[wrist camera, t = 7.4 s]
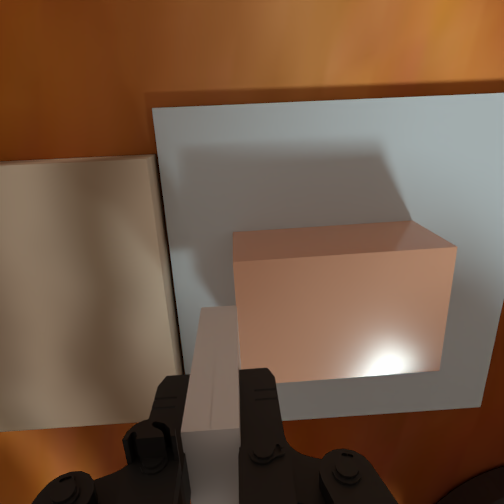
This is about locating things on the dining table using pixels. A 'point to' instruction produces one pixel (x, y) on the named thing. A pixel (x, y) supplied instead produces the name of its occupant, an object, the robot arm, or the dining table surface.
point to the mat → (344, 217)
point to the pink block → (342, 299)
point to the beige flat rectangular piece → (83, 292)
